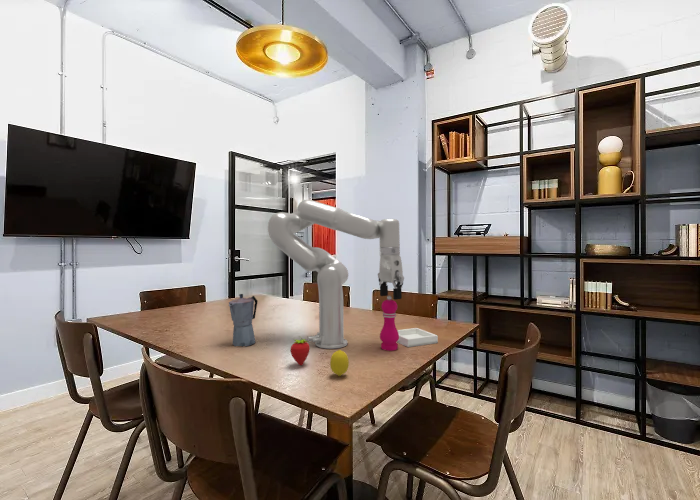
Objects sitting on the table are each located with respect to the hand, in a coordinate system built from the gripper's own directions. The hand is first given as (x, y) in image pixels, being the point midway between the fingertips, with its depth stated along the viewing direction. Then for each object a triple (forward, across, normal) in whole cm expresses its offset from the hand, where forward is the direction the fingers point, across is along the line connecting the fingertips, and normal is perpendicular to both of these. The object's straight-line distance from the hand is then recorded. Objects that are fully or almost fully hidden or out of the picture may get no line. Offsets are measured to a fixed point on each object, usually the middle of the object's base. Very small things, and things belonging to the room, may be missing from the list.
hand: (390, 297), depth 134 cm
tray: (+19, +6, -13) cm, 24 cm away
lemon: (+19, -18, +29) cm, 39 cm away
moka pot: (+18, +30, +50) cm, 61 cm away
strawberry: (+19, -4, +37) cm, 41 cm away
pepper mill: (+20, 0, +1) cm, 20 cm away
